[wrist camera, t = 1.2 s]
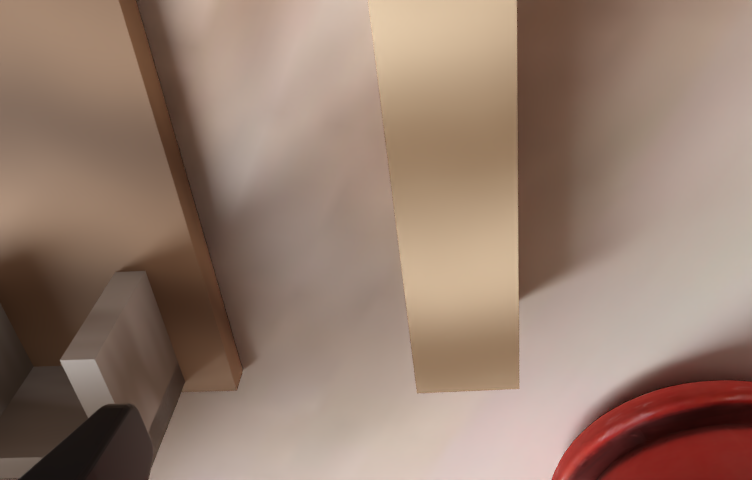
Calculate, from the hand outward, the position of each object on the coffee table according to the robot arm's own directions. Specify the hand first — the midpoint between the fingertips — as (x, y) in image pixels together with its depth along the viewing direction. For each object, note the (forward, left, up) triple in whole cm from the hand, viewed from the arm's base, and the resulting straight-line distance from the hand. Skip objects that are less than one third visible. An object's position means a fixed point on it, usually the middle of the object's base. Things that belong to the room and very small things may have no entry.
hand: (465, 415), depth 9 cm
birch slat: (0, 0, -12) cm, 12 cm away
